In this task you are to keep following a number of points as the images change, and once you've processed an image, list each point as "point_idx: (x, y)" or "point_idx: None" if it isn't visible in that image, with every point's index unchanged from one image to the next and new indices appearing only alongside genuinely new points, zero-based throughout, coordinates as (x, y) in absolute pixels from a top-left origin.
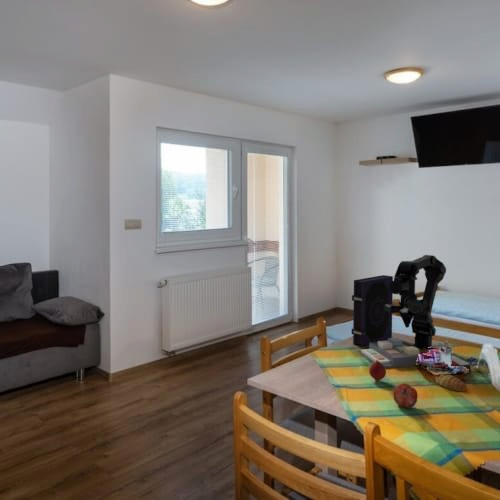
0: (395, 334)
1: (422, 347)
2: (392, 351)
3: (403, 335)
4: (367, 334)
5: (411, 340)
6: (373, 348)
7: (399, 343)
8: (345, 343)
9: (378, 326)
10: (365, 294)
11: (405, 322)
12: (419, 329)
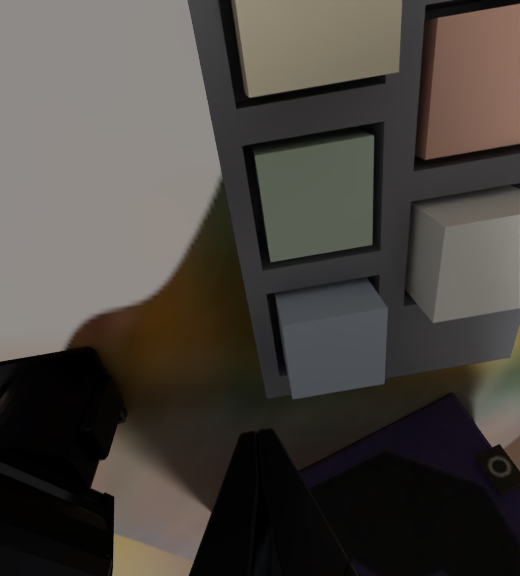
0: (178, 545)
1: (75, 368)
2: (494, 84)
3: (140, 537)
4: (442, 478)
5: (116, 484)
6: None
7: (309, 304)
8: (503, 437)
9: None
10: None
11: (321, 519)
12: (44, 502)
